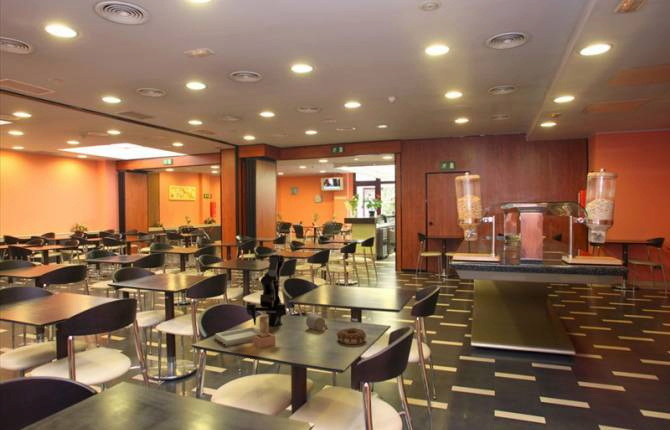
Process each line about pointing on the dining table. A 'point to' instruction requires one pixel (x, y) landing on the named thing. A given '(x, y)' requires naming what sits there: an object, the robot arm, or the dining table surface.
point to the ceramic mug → (315, 322)
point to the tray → (237, 336)
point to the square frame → (264, 340)
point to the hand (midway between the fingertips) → (264, 325)
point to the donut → (351, 336)
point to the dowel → (264, 326)
